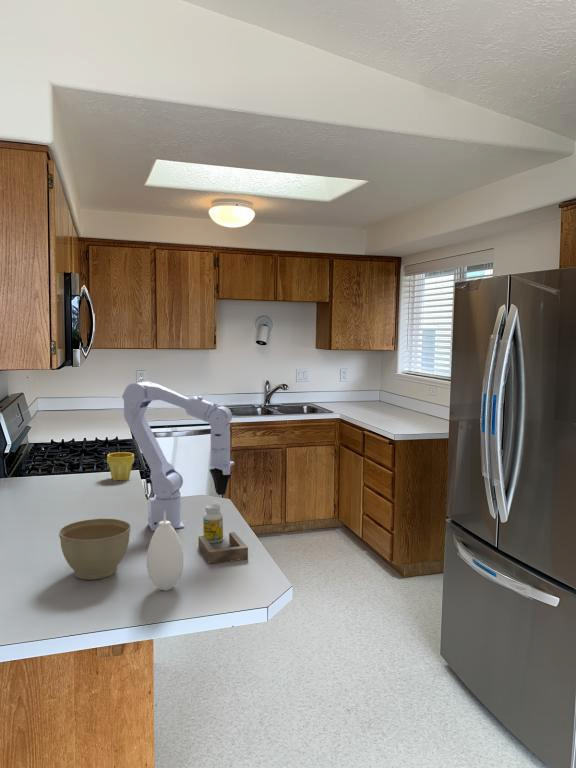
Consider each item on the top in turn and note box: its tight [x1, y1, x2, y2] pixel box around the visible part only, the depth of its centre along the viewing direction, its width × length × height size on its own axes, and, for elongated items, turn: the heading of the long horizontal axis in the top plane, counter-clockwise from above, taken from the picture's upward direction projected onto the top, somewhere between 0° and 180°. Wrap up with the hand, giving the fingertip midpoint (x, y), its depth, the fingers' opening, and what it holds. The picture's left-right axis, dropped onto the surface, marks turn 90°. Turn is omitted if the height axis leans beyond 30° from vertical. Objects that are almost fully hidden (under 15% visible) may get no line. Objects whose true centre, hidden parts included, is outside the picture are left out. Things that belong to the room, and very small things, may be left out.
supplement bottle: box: [202, 504, 224, 544], centre depth 161 cm, size 5×5×10 cm
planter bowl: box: [58, 518, 131, 580], centre depth 139 cm, size 16×16×11 cm
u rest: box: [198, 531, 249, 565], centre depth 152 cm, size 10×12×3 cm
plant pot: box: [106, 451, 135, 481], centre depth 230 cm, size 10×10×10 cm
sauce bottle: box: [146, 510, 184, 592], centre depth 130 cm, size 8×8×18 cm
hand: (220, 493), depth 171 cm, fingers closed
